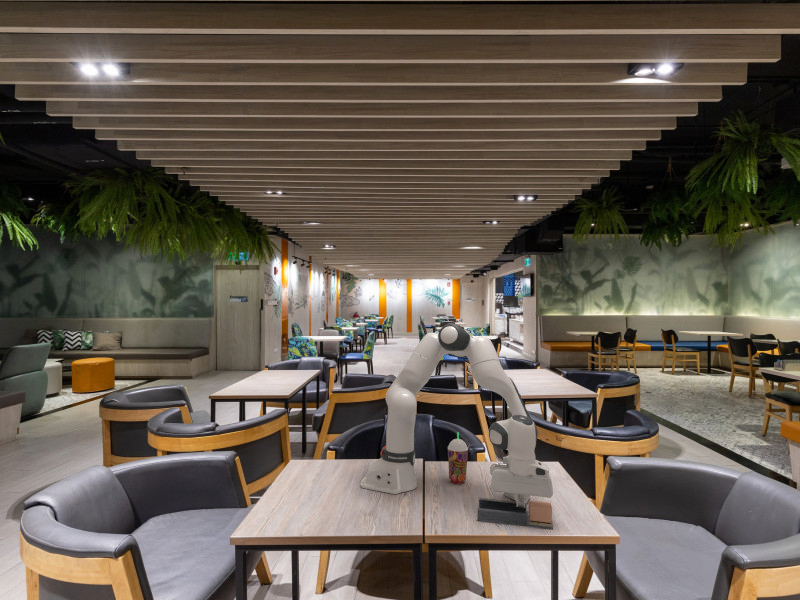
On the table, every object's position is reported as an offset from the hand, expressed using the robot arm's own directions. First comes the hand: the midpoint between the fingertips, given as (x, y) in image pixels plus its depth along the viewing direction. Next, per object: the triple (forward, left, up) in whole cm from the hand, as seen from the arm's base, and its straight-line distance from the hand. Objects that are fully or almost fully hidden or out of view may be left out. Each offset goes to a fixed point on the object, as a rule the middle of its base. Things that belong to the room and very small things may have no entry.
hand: (520, 506), depth 153 cm
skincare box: (-1, +18, -5) cm, 19 cm away
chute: (-2, 0, -4) cm, 5 cm away
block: (+6, 0, -4) cm, 8 cm away
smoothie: (-24, +28, -4) cm, 38 cm away
